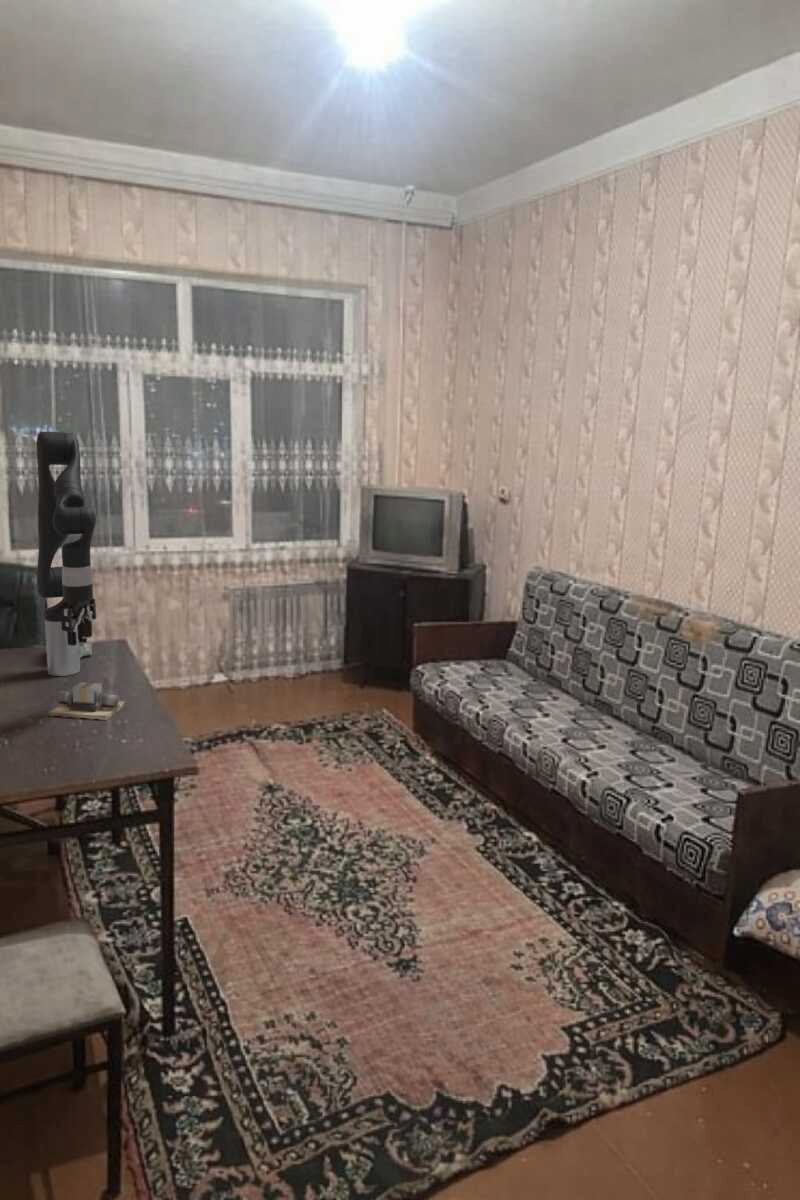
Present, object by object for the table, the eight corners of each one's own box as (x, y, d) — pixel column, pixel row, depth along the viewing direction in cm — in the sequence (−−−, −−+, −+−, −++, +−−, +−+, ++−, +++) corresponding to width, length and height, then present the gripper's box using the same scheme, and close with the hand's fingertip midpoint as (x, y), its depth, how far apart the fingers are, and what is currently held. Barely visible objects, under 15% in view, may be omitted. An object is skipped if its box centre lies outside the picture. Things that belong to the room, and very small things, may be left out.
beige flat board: (72, 701, 234) (70, 682, 233) (126, 705, 233) (125, 685, 231) (49, 716, 223) (48, 695, 222) (106, 720, 221) (105, 699, 220)
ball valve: (91, 663, 271) (89, 609, 267) (63, 665, 268) (60, 611, 264) (93, 648, 287) (90, 598, 283) (66, 650, 285) (63, 599, 281)
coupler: (102, 704, 229) (101, 683, 228) (94, 710, 225) (93, 688, 224) (81, 702, 230) (80, 682, 229) (73, 708, 226) (72, 687, 224)
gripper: (77, 588, 214) (80, 649, 218) (103, 577, 228) (105, 634, 232) (50, 586, 215) (53, 647, 219) (77, 576, 229) (80, 633, 233)
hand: (80, 640), depth 225 cm, fingers open, 8 cm apart
